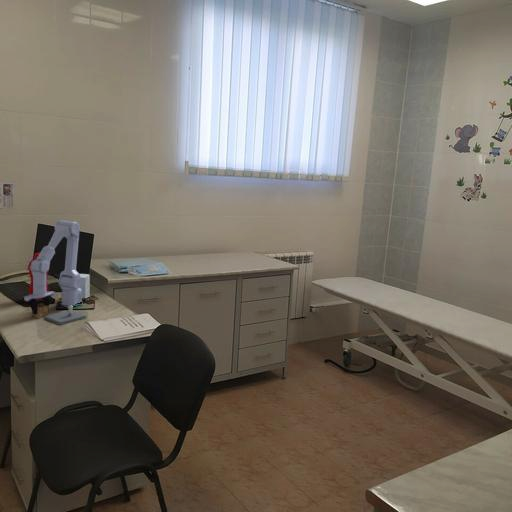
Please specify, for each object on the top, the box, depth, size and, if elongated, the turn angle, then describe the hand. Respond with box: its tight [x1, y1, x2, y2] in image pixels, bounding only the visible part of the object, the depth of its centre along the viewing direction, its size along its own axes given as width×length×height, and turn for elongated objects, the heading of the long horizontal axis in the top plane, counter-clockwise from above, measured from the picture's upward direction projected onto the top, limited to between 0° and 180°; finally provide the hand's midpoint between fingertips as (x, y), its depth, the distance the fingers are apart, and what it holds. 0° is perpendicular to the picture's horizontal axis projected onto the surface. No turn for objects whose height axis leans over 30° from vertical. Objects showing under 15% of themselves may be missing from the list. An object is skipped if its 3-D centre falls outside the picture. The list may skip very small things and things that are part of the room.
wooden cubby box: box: [31, 303, 49, 319], centre depth 236 cm, size 5×5×5 cm
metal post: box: [67, 305, 74, 316], centre depth 236 cm, size 2×2×6 cm
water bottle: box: [26, 252, 50, 300], centre depth 260 cm, size 9×11×25 cm
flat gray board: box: [44, 310, 87, 325], centre depth 235 cm, size 14×12×1 cm
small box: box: [79, 273, 91, 298], centre depth 267 cm, size 8×6×13 cm
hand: (40, 312), depth 236 cm, fingers closed on wooden cubby box, 5 cm apart
